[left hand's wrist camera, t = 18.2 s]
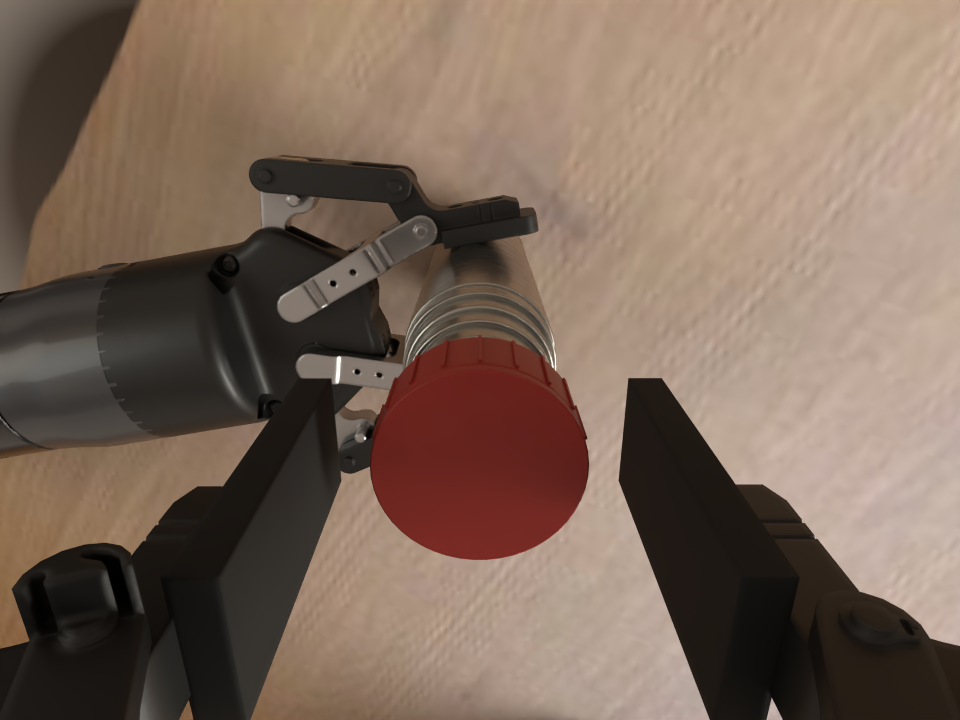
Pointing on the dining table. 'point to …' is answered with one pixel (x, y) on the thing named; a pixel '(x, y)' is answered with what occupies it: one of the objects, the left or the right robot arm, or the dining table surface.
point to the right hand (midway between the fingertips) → (542, 283)
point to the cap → (479, 450)
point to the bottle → (480, 300)
